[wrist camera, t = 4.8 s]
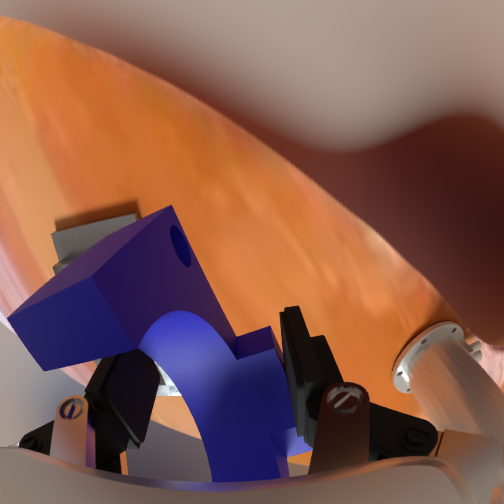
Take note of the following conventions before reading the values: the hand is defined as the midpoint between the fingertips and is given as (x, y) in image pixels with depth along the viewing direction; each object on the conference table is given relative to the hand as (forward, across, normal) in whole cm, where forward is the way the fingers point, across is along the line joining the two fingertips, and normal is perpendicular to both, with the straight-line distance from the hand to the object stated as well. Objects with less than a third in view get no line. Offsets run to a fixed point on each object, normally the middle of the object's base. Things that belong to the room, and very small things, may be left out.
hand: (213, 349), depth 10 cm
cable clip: (+1, 0, 0) cm, 1 cm away
